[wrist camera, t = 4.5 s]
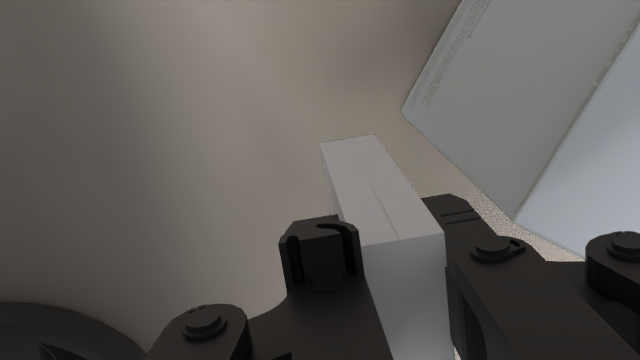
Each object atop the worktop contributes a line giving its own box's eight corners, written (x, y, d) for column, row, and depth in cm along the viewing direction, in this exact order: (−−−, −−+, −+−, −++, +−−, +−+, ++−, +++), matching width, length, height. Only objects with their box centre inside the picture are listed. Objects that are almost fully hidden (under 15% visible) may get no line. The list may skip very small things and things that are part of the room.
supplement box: (393, 113, 27) (500, 223, 15) (483, -45, 25) (687, -65, 13) (527, 183, 28) (721, 333, 16) (620, 40, 27) (913, 91, 15)
